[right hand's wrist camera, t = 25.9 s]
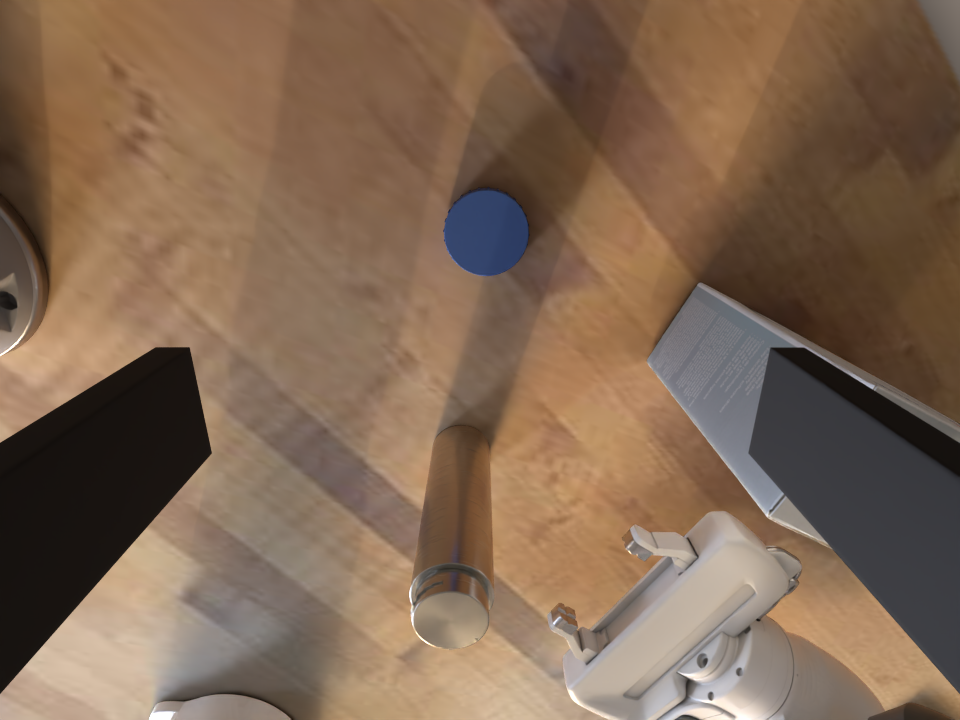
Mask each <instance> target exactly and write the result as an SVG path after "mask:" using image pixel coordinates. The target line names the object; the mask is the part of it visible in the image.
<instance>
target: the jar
mask: <svg viewBox="0 0 960 720" xmlns="http://www.w3.org/2000/svg"><path fill="white" fill-rule="evenodd" d="M410 600H411V604H412V608H411V619H412V624H413V627H414V630H415V632H416V633H417V635H418V636H419V637H420V638H421V639H422V640H423V641H425V642H426V643H428V644H430V645H432V646H435V647H438V648H442V649H449V650H452V649H460V648H465V647H468V646H470V645H472V644H474V643H476V642H477V641H479V640H480V639H481V638H482V637H483V636H484V634H485V633H486V631H487V629H488V625H489V611H490V609H491V607H492V605H493V602H494V568H493V537H492V506H491V475H490V448H489V443H488V441H487V439H486V437H485V436H484V435H483V434H482V433H481V432H480V431H479V430H477V429H475V428H473V427H470V426H466V425H455V426H451V427H449V428H446V429H445V430H443V431H442V432H441V433H440V434H439V435H438V436H437V437H436V439H435V441H434V444H433V449H432V455H431V461H430V468H429V474H428V480H427V487H426V493H425V499H424V506H423V512H422V518H421V524H420V531H419V537H418V543H417V550H416V556H415V562H414V569H413V575H412V581H411V588H410Z"/></svg>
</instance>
